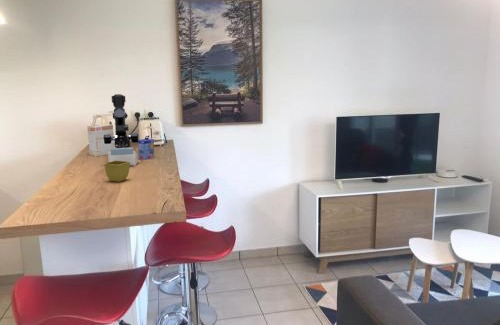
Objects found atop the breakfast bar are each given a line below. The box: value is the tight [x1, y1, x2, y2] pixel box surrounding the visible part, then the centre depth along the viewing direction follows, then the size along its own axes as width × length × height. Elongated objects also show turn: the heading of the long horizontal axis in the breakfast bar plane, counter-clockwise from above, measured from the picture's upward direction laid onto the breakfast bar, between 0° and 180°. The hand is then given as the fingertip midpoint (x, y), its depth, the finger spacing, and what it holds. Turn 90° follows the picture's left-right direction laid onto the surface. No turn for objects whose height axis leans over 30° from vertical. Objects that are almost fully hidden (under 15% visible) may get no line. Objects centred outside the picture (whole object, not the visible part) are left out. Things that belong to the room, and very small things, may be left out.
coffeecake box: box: [86, 123, 115, 158], centre depth 270 cm, size 15×7×20 cm, turn 144°
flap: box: [110, 147, 134, 155], centre depth 229 cm, size 1×12×7 cm
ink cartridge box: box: [137, 135, 155, 161], centre depth 254 cm, size 10×6×14 cm, turn 158°
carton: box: [107, 150, 138, 166], centre depth 239 cm, size 13×15×6 cm
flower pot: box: [103, 161, 131, 183], centre depth 197 cm, size 9×9×9 cm
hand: (122, 150), depth 229 cm, fingers closed
